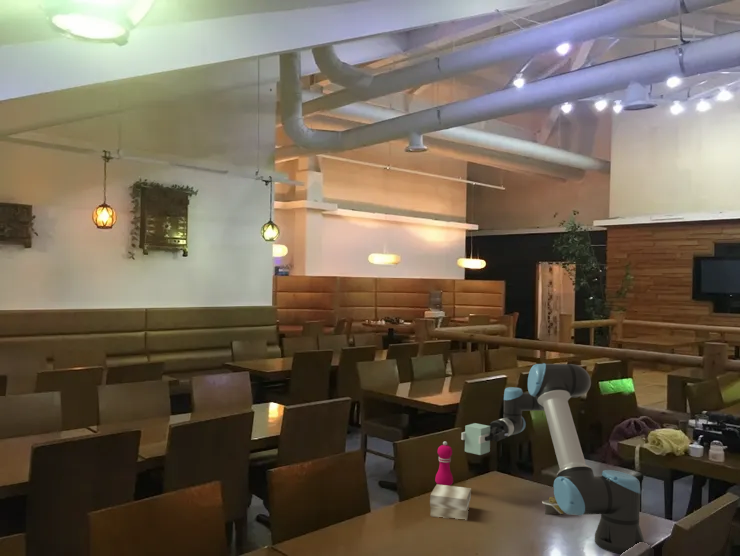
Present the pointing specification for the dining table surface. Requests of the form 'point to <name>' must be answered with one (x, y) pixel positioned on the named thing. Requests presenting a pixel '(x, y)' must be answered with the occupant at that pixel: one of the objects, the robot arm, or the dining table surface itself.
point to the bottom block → (449, 513)
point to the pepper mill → (444, 465)
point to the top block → (450, 497)
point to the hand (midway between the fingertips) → (470, 438)
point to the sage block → (476, 439)
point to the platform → (552, 506)
